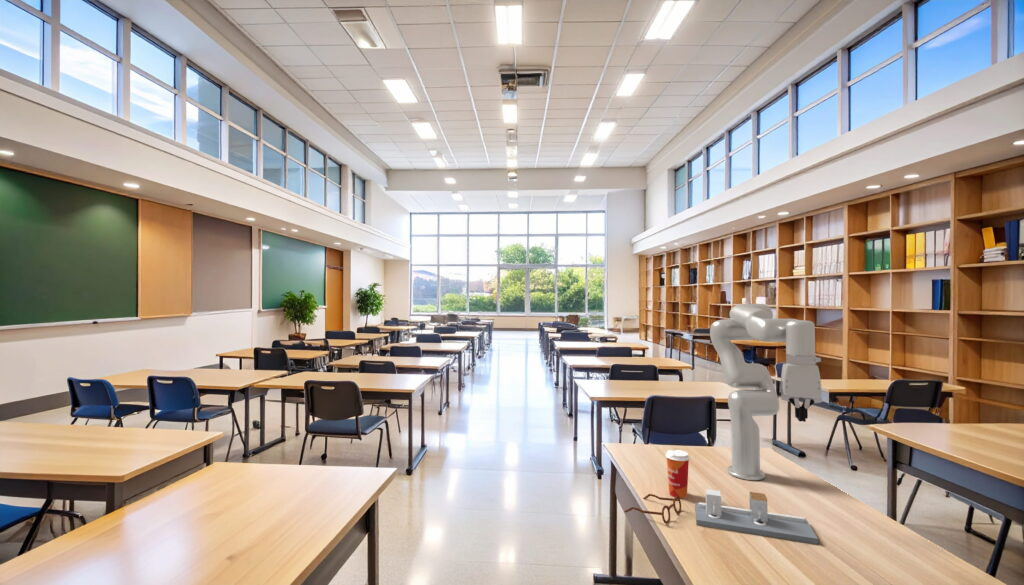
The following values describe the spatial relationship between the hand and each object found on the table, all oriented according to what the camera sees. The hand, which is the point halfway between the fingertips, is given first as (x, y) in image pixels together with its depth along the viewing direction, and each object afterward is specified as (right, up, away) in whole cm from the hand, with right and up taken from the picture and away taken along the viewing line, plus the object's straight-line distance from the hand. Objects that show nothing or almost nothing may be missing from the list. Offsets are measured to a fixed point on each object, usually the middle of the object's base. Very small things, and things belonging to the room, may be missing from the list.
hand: (801, 420), depth 135 cm
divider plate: (-19, -29, -6) cm, 35 cm away
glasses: (-45, -30, +2) cm, 54 cm away
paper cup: (-33, -29, +14) cm, 46 cm away
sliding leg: (-17, -27, -7) cm, 32 cm away
